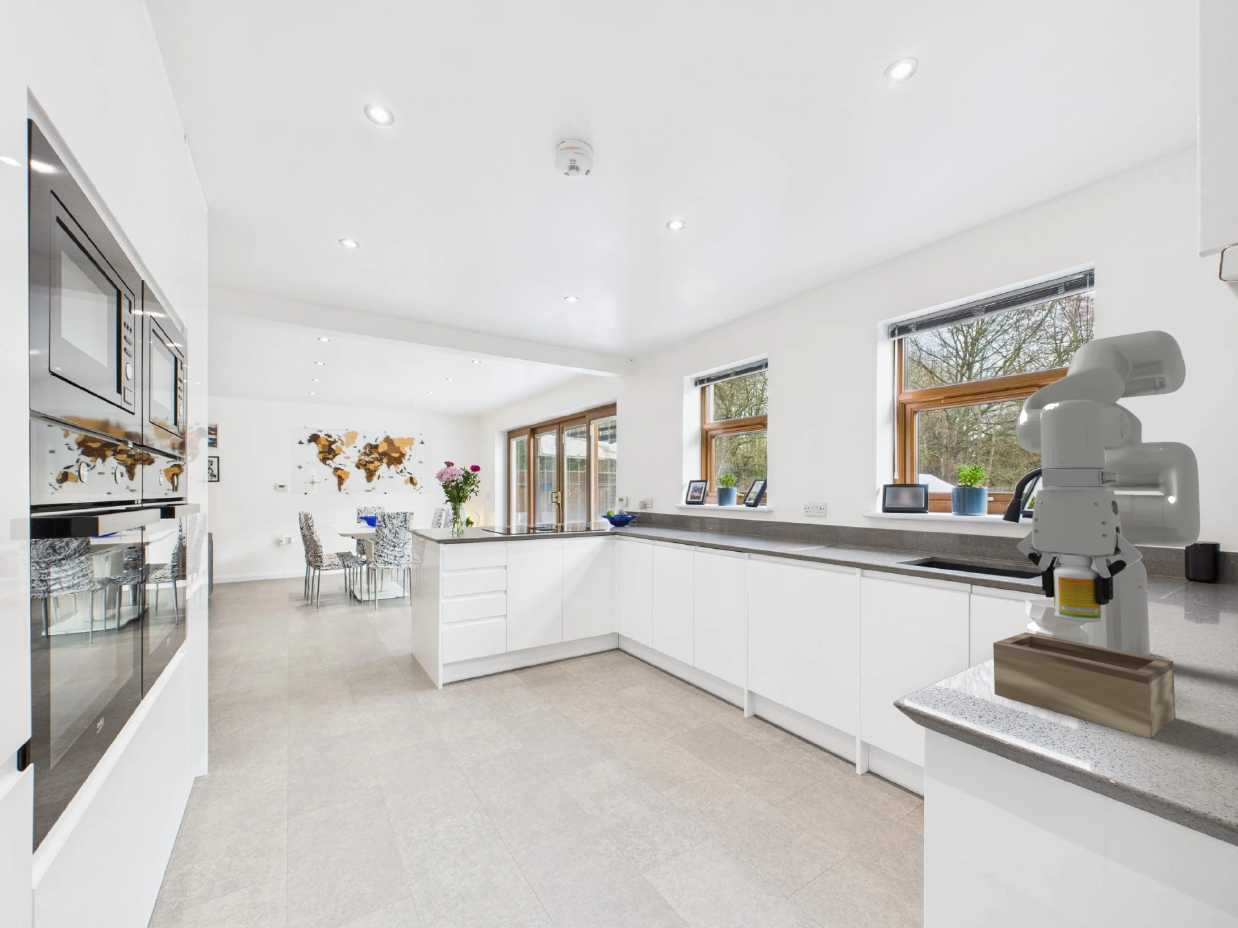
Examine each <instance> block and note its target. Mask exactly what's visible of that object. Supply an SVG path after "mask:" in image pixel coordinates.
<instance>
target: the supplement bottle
mask: <svg viewBox="0 0 1238 928" xmlns="http://www.w3.org/2000/svg"><path fill="white" fill-rule="evenodd" d="M1057 561H1058V563H1060V566H1058V567H1055V569H1054V572H1053V580H1054V597H1053V600H1054V611H1055V616H1057V617H1059V618H1062V619H1066V620H1072V621H1078V622H1099V621H1100V620H1101V607H1100V605H1098V604H1097V603H1096V594H1095V578H1096V577H1098V572H1097V571H1095V570H1093V569H1091V565H1093V564H1092V563H1093V558H1092V557H1087V556H1076V555H1065V554H1059V556H1058V559H1057Z"/></svg>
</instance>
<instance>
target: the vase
mask: <svg viewBox="0 0 1238 928" xmlns="http://www.w3.org/2000/svg"><path fill="white" fill-rule="evenodd" d="M1025 615H1027V616H1028V617H1029V618H1030V619H1031V620H1033V621H1032V622H1030V623H1028V624H1026V625H1027V626H1026V632H1027V633H1032V634H1037V635H1042V636H1047V637H1052V638H1057V639H1063V640H1068V641H1073V642H1078V643H1083V644H1088V645H1089V637H1088V634H1087V633H1086V632H1085V631H1084V630H1083V628H1081V626H1082V627H1083V625H1084V624H1085V623H1087V622H1078V621H1072V620H1066V619H1062V618H1059V617H1057V616H1055V611H1054V599H1050V598H1049V599H1047V598H1046V599H1045V598H1028V599H1026V600H1025Z"/></svg>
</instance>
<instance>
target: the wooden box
mask: <svg viewBox="0 0 1238 928" xmlns="http://www.w3.org/2000/svg"><path fill="white" fill-rule="evenodd" d="M992 644H993V646H992V647H993V678H994V679H993V682H994V683H993V684H994V694H995V695H998V696H1001V697H1004V698H1008V699H1011V700H1015V701H1019V702H1022V703H1025V704H1030V705H1031V706H1036V707H1039V708H1042V709H1043V708H1044V709H1046V710H1050V711H1052V712H1057V713H1060V714H1063V715H1067V716H1070V717H1074V718H1077V719H1081V720H1084V721H1088V722H1090V723H1095V724H1097V725H1102V726H1105V727H1109V728H1112V729H1115V730H1120V731H1122V732H1126V733H1129V734H1134V735H1136V736H1139V737H1143V738H1146V739H1151V738H1152V737H1154V736H1155V735H1156V734H1157V733H1159V731H1161V730H1162V729H1164V728H1165V727H1166V726H1167V725H1168V724H1170V723H1171V722H1172V721H1173V720H1175V719H1176V699H1175V697H1176V695H1175V694H1176V693H1175V673H1174V672H1175V669H1174V660H1170V659H1165V658H1161V657H1160V658H1161V659H1160V658H1155V657H1150V656H1145V655H1140V654H1135V653H1129V652H1124V651H1119V650H1114V649H1109V648H1104V647H1099V646H1093V645H1088V644H1083V643H1078V642H1073V641H1068V640H1063V639H1057V638H1052V637H1047V636H1042V635H1037V634H1032V633H1027V631H1026V632H1022V633H1019V634H1017V635H1016V634H1015V635H1013V636H1010V637H1006V638H1004V639H1001V640H998V641H994V642H993V643H992Z"/></svg>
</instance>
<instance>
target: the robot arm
mask: <svg viewBox="0 0 1238 928" xmlns="http://www.w3.org/2000/svg"><path fill="white" fill-rule="evenodd" d="M1186 371H1187V369H1186V363H1185V359H1184V357H1183V354H1182V350H1181V347H1180V345H1179V343H1178V341H1177V339H1175V337H1174V336H1172V335H1171V334H1170V333H1168V332H1166V331H1162V330H1148V331H1142V332H1135V333H1128V334H1121V335H1115V336H1114V335H1113V336H1108V337H1103V338H1097V339H1094V340H1091V341H1087V342H1086V343H1084V344H1082V345H1081V346H1080V347H1079V348H1077V350H1076V351H1075V352H1074V354H1073V356H1072V358H1071V361H1070V364H1069V367H1068V370H1067V373H1066V376H1063V377H1061V378H1059V379H1057V380H1055V381H1053V382H1051V383H1049V384H1047V385H1045V386H1044V387H1041V388H1040V389H1038V390H1036V391H1035V392H1033V393H1031V395H1030V396H1028V397H1027V399H1026V400H1025V401H1024V404H1023V406H1022V408H1021V410H1020V412H1019V415H1018V418H1017V422H1016V426H1015V427H1016V428H1015V435H1016V440H1017V443H1018V445H1020V447H1021V448H1022V449H1024V450H1025V451H1027V452H1030V453H1035V454H1036V453H1037V454H1039V453H1040V454H1041V455H1040V456H1041V485H1042V487H1041V489H1038V490H1037V492H1036V496H1035V500H1034V505H1033V513H1032V523H1031V531H1030V532H1029V533H1028V534H1027V535H1026V536H1025V537H1024V538H1022V540H1020V541H1019V542H1018V543H1017V545H1016V548H1017V550H1019V551H1020V552H1021V553H1022V554H1023V555H1025V556H1026V557H1027V558H1028V559H1029V560H1030V561H1031V562H1032V563H1033V564H1034V565H1035V566H1036V567H1037V568H1038V570H1039V571H1040V572H1041V590H1042V591H1044V592H1045V597H1046V598H1049V599H1050V598H1054V580H1053V572H1054V569H1055V568H1056V567H1055V566H1056V563H1057V561H1058V558H1059V554H1065V555H1076V556H1087V557H1092V558H1093V563H1092V564H1093V565H1091V569H1093V570H1095V571H1097V572H1098V577H1096V578H1095V594H1096V603H1097V604H1098V605H1100V607H1101V620H1100V621H1099V622H1087V623H1085V624H1084V625H1082V629H1083V630H1084V631H1085V632H1086V633H1087V634H1088V637H1089V645H1093V646H1099V647H1104V648H1109V649H1114V650H1119V651H1124V652H1129V653H1135V654H1140V655H1145V656H1150V657H1155V658H1160V659H1162V657H1160V656H1158V655H1157V654H1154V653H1153V652H1151V651H1150V649H1151V648H1150V645H1151V644H1150V626H1149V625H1150V624H1149V623H1150V622H1149V600H1148V599H1149V595H1148V574H1147V573H1148V572H1147V569H1146V567H1145V564H1144V563H1143V561H1142V559H1143V557H1144V555H1143V553H1142V552H1141V551H1140V550H1139V549H1138V548H1136V547H1135V546H1150V547H1151V546H1152V547H1164V548H1165V547H1170V548H1171V547H1172V548H1184V547H1190V546H1191V545H1194V544H1195V543H1196V542H1197V541H1198V539H1199V537H1200V533H1201V511H1200V510H1201V507H1200V483H1199V468H1198V461H1197V456H1196V454H1195V452H1194V451H1193V449H1192V448H1191V447H1190V446H1189V445H1187V444H1185V443H1183V442H1178V441H1177V442H1176V441H1155V442H1154V441H1153V442H1150V441H1149V442H1143V441H1142V440H1143V439H1142V436H1143V435H1142V433H1143V431H1142V428H1143V424H1142V422H1141V420H1140V419H1139V418H1138V417H1137V416H1136V414H1134V413H1133V412H1132V411H1130V410H1129V409H1128V408H1126V407H1125V406H1123V405H1121V404H1119V403H1118V401H1119V400H1120V399H1125V398H1126V399H1127V398H1133V397H1134V398H1136V397H1147V396H1149V397H1150V396H1158V395H1159V396H1160V395H1166V394H1172V393H1174V392H1176V391H1178V390H1179V389H1181V387H1182V386H1183V384H1184V382H1185V380H1186V376H1187V374H1186ZM1115 492H1159V493H1161V494H1125V493H1123V494H1116V493H1115ZM1037 551H1038V552H1037ZM1041 553H1042V554H1041Z"/></svg>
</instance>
